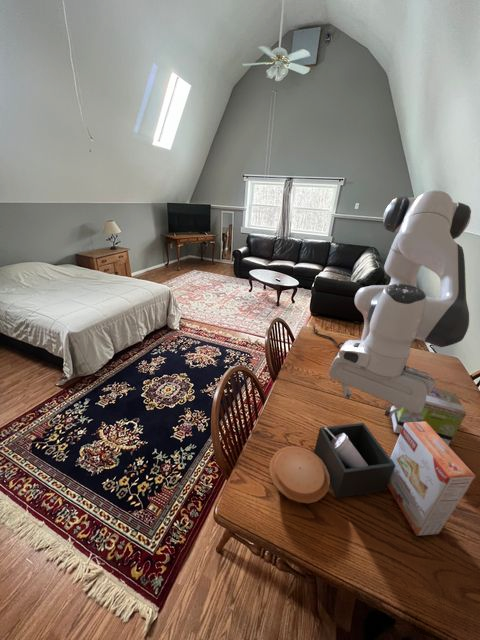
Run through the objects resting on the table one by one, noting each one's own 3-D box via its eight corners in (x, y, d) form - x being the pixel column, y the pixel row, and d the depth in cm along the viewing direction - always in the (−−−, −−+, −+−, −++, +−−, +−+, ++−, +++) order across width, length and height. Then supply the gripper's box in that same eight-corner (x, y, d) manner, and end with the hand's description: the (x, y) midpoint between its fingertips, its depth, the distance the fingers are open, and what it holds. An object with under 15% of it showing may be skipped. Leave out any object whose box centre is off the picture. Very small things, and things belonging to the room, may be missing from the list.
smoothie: (372, 456, 73) (334, 417, 76) (373, 472, 67) (332, 429, 70) (353, 467, 76) (318, 428, 78) (353, 483, 70) (314, 441, 72)
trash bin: (314, 451, 79) (319, 427, 75) (355, 446, 82) (363, 422, 77) (336, 498, 67) (344, 472, 63) (384, 490, 70) (395, 465, 65)
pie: (325, 461, 76) (328, 449, 74) (329, 519, 63) (333, 506, 61) (271, 449, 79) (273, 437, 77) (264, 502, 66) (266, 489, 63)
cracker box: (380, 477, 73) (403, 420, 64) (400, 476, 73) (426, 420, 64) (414, 537, 60) (449, 476, 51) (439, 535, 61) (478, 475, 52)
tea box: (393, 433, 87) (407, 398, 80) (390, 412, 95) (402, 379, 89) (448, 449, 82) (467, 413, 76) (439, 426, 90) (456, 391, 84)
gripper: (439, 369, 56) (417, 418, 62) (341, 338, 66) (330, 382, 72) (438, 385, 51) (414, 436, 57) (332, 348, 61) (321, 395, 68)
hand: (366, 406), depth 65 cm, fingers open, 8 cm apart
